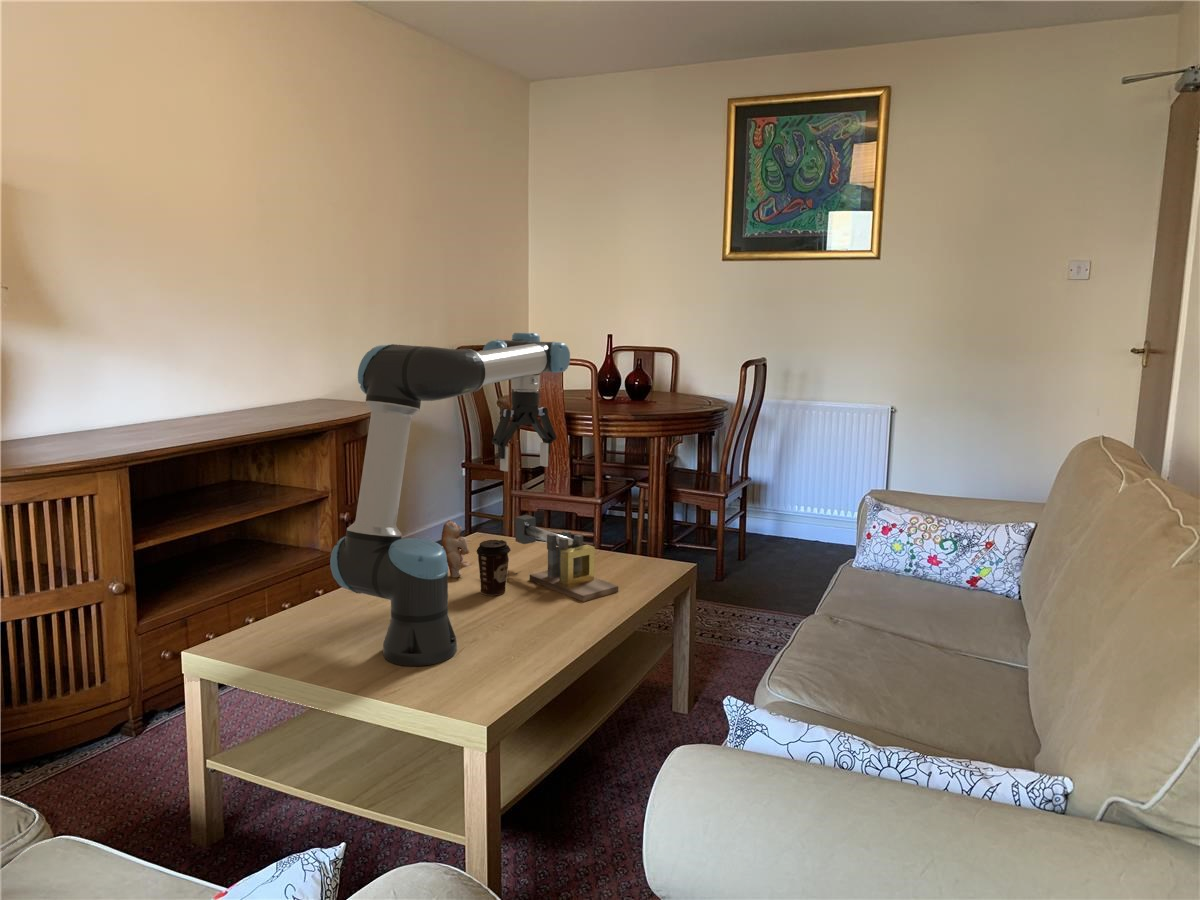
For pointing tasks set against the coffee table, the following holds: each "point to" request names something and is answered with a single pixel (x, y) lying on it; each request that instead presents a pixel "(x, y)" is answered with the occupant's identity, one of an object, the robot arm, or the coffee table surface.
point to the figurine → (454, 548)
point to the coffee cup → (493, 566)
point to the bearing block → (578, 591)
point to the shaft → (534, 532)
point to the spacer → (587, 565)
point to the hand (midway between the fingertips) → (524, 468)
